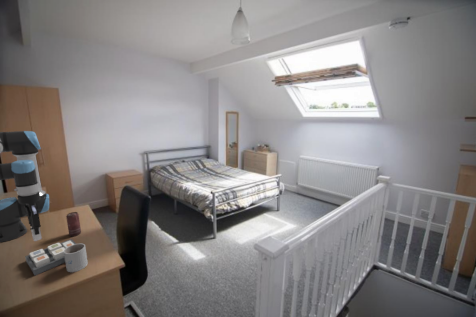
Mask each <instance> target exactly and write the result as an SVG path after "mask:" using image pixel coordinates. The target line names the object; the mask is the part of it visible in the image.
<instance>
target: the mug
mask: <svg viewBox="0 0 476 317" xmlns="http://www.w3.org/2000/svg"><path fill="white" fill-rule="evenodd" d="M64 257H65V263H64V264H65V267H66V272H68V273H77V272H79V271H81V270H83V269H85V268H86V267H87V266H88V264H89V263H88V255H87V249H86V244H84V243H76V244H74V245H71V246H69V247H67V248H66V249H65V250H64Z"/></svg>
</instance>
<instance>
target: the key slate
mask: <svg viewBox="0 0 476 317" xmlns="http://www.w3.org/2000/svg"><path fill="white" fill-rule="evenodd" d="M44 254H45V252H44V250H43V248H40V249H38V250H35V251H31V252H29V254H28V255H30V258H31V260H32V261H33V259H34V258H36V257H39V256H41V255H44ZM33 262H34V261H33Z"/></svg>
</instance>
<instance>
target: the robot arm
mask: <svg viewBox="0 0 476 317" xmlns="http://www.w3.org/2000/svg"><path fill="white" fill-rule="evenodd" d="M39 150H42V148H41V146H40V142H39V139H38V136H37V133H36V132H35V131H32V130H31V131H30V130H20V131H19V130H16V131H0V154H2V153H9V152H10V153H11V155H12V156H14V157H16V160H15V161H12V162H8V163H7V162H6V163H0V181H3V180H13V181H14V184H15V185H14V186H15V188H14V189H13V191H15V192H16V195H17V196H16V197H15V196H12V197H7V198H2V199H0V243H3V242H8V241H12V240H15V239H17V238H20V237H22V236H24V235H25V234H27V232H28V228H27V227H26V225H25V223H24V222H23V221H22V219H21V218H25V217H27V221H28V225H29V227H30V228H29V229H30V231H31V235H32V240H33V242H37V241H40V240H42V239H43V238H42V233H41V226H42V225H41V220H40V214H42V213H46V212H48V211H49V209H50V195H49V193H46V192H47V191H45V190H43V189H42V188H43V187H42V183H41V182H42V181H41V178H40V173H39V165H38V161H37V155H38V154H39Z"/></svg>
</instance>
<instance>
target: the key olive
mask: <svg viewBox="0 0 476 317" xmlns="http://www.w3.org/2000/svg"><path fill="white" fill-rule="evenodd" d="M60 243H61V242H56V243H53V244H51V245H48V246H47V248H48V251H49V253H50V254H51V255H52V251H54V250H57V249H59V248H62V245H61V244H60Z"/></svg>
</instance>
